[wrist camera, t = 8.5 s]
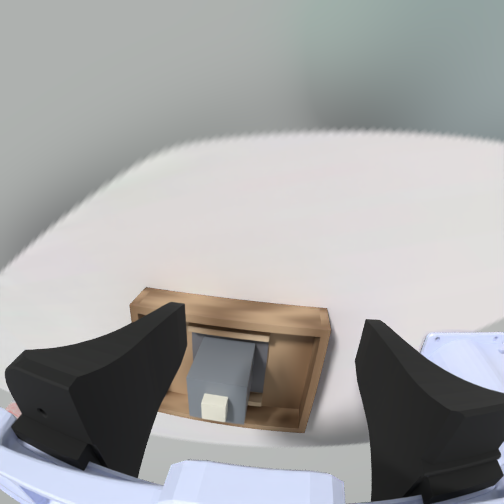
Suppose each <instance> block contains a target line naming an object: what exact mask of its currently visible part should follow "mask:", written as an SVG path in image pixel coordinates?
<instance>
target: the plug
mask: <svg viewBox="0 0 504 504" xmlns="http://www.w3.org/2000/svg"><path fill="white" fill-rule="evenodd" d="M254 353H255V343H251V342H242V341H234V340H227V339H220V338H212V337H206V336H204V338H203V340H202V342H201V345H200V347H199V349H198V352H197V354H196V356H195V358H194V361H193V363H192V365H191V368H190V370H189V372H188V375H187V377H186V380H187V393H188V404H189V414H190V416H193V417H198V418H202V419H208V420H213V421H220V422H227V423H234V424H242V425H244V423H245V417H246V412H247V406H248V400H249V395H250V389H251V384H252V375H253V364H254Z"/></svg>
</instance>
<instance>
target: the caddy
mask: <svg viewBox="0 0 504 504" xmlns="http://www.w3.org/2000/svg"><path fill="white" fill-rule="evenodd" d="M169 302H177V303H184V304H185V314H186V331H187V348H186V351H185V354H184V357H183V360H182V363H181V366H180V368H179V370H178V372H177V374H176V376H175V378H174V380H173V381H172V383H171V385H170V387H169V389H168V391H167V393H166V395H165V397H164V399H163V401H162V403H161V405H160V407H159V410H158V412H162V413H166V414H170V415H175V416H180V417H184V418H189V419H194V420H200V421H205V422H211V423H217V424H223V425H230V426H237V427H244V428H252V429H261V430H271V431H282V432H296V433H304V432H305V429H306V426H307V422H308V419H309V415H310V412H311V408H312V405H313V401H314V397H315V394H316V390H317V386H318V382H319V379H320V375H321V371H322V367H323V363H324V359H325V354H326V350H327V346H328V342H329V337H330V333H331V327H330V322H329V317H328V312H327V308H317V307H305V306H295V305H284V304H274V303H265V302H256V301H247V300H238V299H229V298H221V297H213V296H205V295H197V294H190V293H182V292H175V291H168V290H161V289H154V288H147V287H146V288H145V289H144V290H143V291H142V292H141V293H140V294H139V295H138V296H137V297H136V298H135V299H134V301H133V302H132V303H131V304H130V313H131V321H132V323H133V322H135V321H137V320H138V319H140V318H142V317H144V316H146V315H147V314H149V313H151V312H153V311H154V310H156V309H158V308H160V307H161V306H163V305H165V304H167V303H169ZM204 336H206V337H212V338H220V339H227V340H234V341H242V342H251V343H255V353H254V364H253V375H252V384H251V389H250V395H249V400H248V406H247V412H246V417H245V423H244V425H242V424H234V423H227V422H220V421H213V420H208V419H202V418H198V417H193V416H190V414H189V404H188V393H187V380H186V377H187V375H188V372H189V370H190V368H191V365H192V363H193V361H194V358H195V356H196V354H197V352H198V349H199V347H200V345H201V342H202V340H203V338H204Z"/></svg>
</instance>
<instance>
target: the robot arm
mask: <svg viewBox="0 0 504 504" xmlns="http://www.w3.org/2000/svg"><path fill="white" fill-rule="evenodd" d="M437 337H438V338H437ZM436 338H437V339H436ZM435 339H436V340H435ZM503 343H504V332H486V333H437V332H433V333H430V334H428V335H427V337H426V339H425V342H424V344H423V347H422V350H421V352H420V353H419V352H418V351H417V350H415V349H414V348H413V347H412V346H410V345H409V344H408V343H407V342H406V341H404V340H403V339H402V338H401V337H400V336H399V335H398V334H396V333H395V332H394V331H393V330H392V329H391V328H390V327H388V326H387V325H386V324H385V323H383V322H382V321H381V320H369V319H366V320H365V324H364V328H363V332H362V336H361V340H360V344H359V348H358V351H357V355H356V358H355V365H356V374H357V382H358V386H359V390H360V394H361V398H362V402H363V406H364V410H365V414H366V419H367V423H368V429H369V436H370V447H371V467H372V493H371V502H364V503H349V504H504V344H503ZM186 348H187V331H186V314H185V304H184V303H177V302H169V303H167V304H165V305H163V306H161V307H160V308H158V309H156V310H154V311H153V312H151V313H149V314H147V315H146V316H144V317H142V318H140V319H138V320H137V321H135V322H133V323H131V324H129V325H127V326H125V327H123V328H121V329H119V330H116V331H114V332H112V333H109V334H107V335H104V336H101V337H98V338H95V339H92V340H88V341H85V342H81V343H78V344H73V345H69V346H63V347H57V348H49V349H35V350H25V351H23V352H22V353H21V354H20V355H19V356H18V357H17V358H16V359H15V360H14V361H13V362H12V363H11V364H10V365H9V366H8V367H7V368H6V370H5V379H6V383H7V386H8V388H9V390H10V392H11V394H12V396H13V398H14V400H15V402H16V404H17V406H18V408H19V410H20V411H21V413H22V414H21V415H20V416H19V418H18V419H17V418H16V417H15V416H14V415H13V414H12V413H10V412H9V411H7V410H5V409H4V408H2V407H0V489H1V490H2V491H4V492H5V493H7V494H8V495H9V496H11V497H12V498H13V499H15V500H16V501H18V502H19V503H21V504H345V492H344V482H343V481H342V480H340V479H338V478H336V477H335V476H333V475H331V474H329V473H323V472H317V471H310V470H287V469H272V468H260V467H251V466H242V465H234V464H227V463H220V462H214V461H208V460H185V461H182V462H179V463H175V464H172V465H171V467H170V470H169V473H168V475H167V478H166V481H165V483H164V485H160V484H156V483H152V482H149V481H145V480H141V479H138V474H139V470H140V466H141V463H142V459H143V455H144V452H145V448H146V445H147V442H148V438H149V435H150V432H151V429H152V426H153V423H154V421H155V418H156V415H157V412H158V410H159V407H160V405H161V403H162V401H163V399H164V397H165V395H166V393H167V391H168V389H169V387H170V385H171V383H172V381H173V380H174V378H175V376H176V374H177V372H178V370H179V368H180V366H181V363H182V360H183V357H184V354H185V351H186Z"/></svg>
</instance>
